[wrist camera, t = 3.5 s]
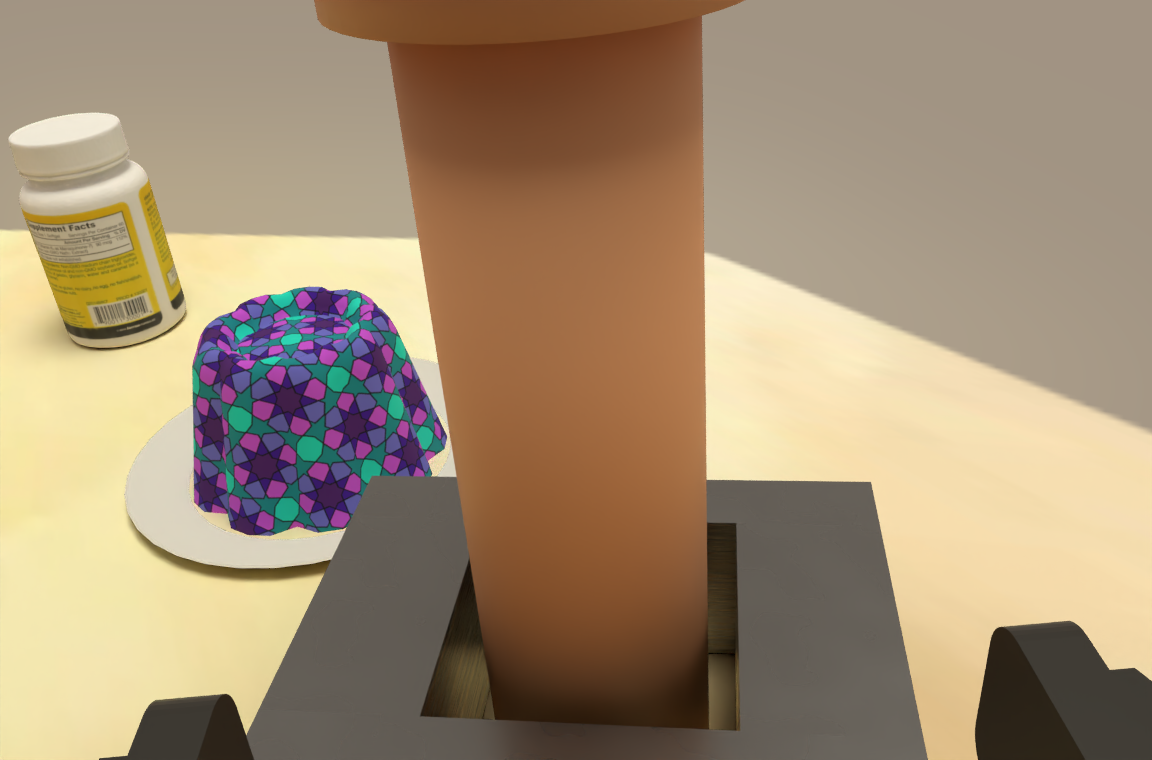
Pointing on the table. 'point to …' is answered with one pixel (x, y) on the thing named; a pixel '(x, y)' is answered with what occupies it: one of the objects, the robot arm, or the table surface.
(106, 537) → the table surface
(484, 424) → the orange capped cylinder
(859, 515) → the frame
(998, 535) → the table surface
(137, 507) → the pudding
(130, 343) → the supplement bottle
